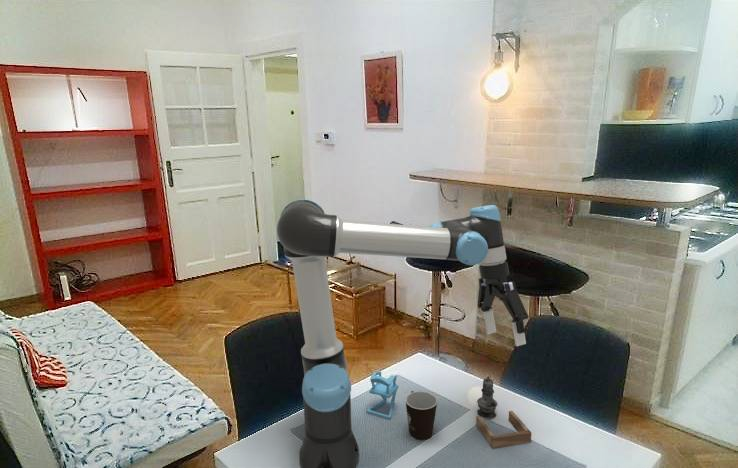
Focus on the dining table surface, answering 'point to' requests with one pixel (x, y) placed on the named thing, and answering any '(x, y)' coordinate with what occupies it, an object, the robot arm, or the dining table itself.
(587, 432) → the dining table surface
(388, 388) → the chair
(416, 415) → the coffee mug
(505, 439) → the pocket
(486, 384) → the chess piece
